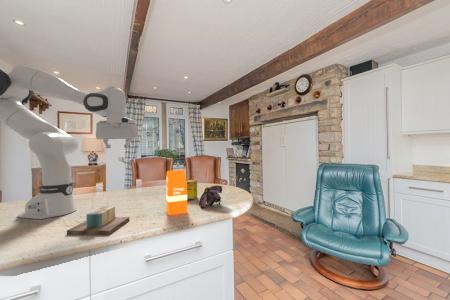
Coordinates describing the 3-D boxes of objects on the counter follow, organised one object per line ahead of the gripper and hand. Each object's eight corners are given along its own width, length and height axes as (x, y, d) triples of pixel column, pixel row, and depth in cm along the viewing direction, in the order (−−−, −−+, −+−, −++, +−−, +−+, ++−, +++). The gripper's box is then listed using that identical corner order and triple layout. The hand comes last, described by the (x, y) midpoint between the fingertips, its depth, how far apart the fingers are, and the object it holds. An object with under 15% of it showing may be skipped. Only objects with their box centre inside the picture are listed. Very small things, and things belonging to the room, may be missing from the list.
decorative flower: (198, 184, 116) (223, 177, 113) (206, 202, 119) (230, 195, 116) (191, 198, 102) (219, 190, 99) (200, 217, 105) (227, 210, 102)
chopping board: (66, 234, 75) (66, 230, 75) (93, 220, 89) (93, 217, 89) (109, 234, 74) (109, 230, 74) (129, 220, 88) (129, 217, 88)
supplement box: (194, 200, 120) (193, 181, 120) (184, 199, 121) (184, 181, 121) (197, 197, 126) (197, 179, 126) (188, 197, 127) (188, 179, 127)
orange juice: (166, 210, 102) (165, 170, 101) (184, 208, 105) (183, 169, 105) (168, 215, 94) (167, 171, 94) (187, 212, 98) (186, 170, 98)
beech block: (103, 218, 87) (86, 227, 77) (103, 206, 87) (86, 214, 77) (115, 218, 87) (99, 227, 77) (114, 206, 87) (99, 214, 77)
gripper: (92, 120, 100) (92, 148, 100) (133, 119, 99) (134, 147, 99) (100, 121, 106) (101, 148, 106) (139, 120, 105) (140, 147, 105)
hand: (117, 148), depth 103 cm, fingers open, 8 cm apart
